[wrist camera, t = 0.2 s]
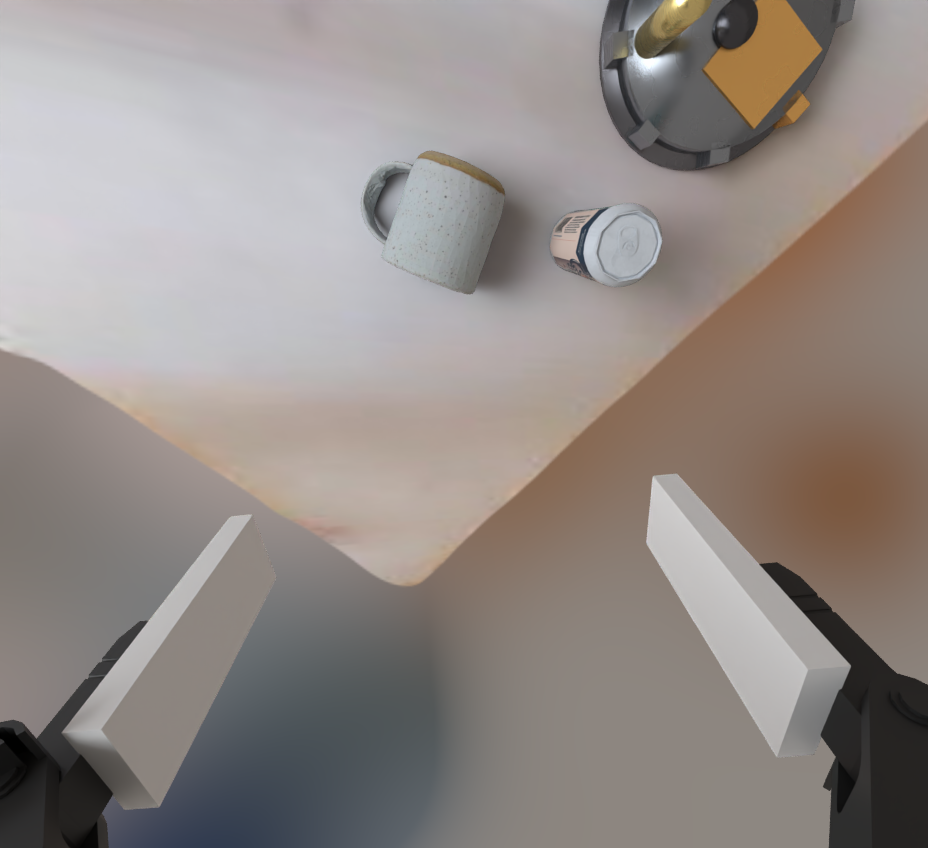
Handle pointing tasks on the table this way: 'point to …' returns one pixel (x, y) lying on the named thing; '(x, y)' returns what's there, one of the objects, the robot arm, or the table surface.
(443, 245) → the ceramic mug
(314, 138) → the table surface
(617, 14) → the hub plate
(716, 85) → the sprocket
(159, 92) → the table surface
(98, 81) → the table surface
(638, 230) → the beer can
